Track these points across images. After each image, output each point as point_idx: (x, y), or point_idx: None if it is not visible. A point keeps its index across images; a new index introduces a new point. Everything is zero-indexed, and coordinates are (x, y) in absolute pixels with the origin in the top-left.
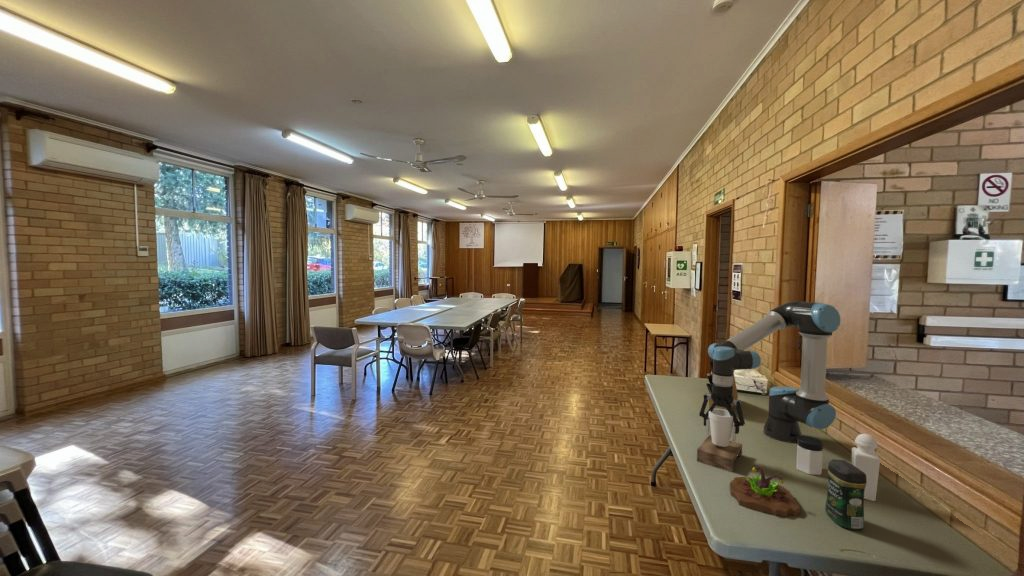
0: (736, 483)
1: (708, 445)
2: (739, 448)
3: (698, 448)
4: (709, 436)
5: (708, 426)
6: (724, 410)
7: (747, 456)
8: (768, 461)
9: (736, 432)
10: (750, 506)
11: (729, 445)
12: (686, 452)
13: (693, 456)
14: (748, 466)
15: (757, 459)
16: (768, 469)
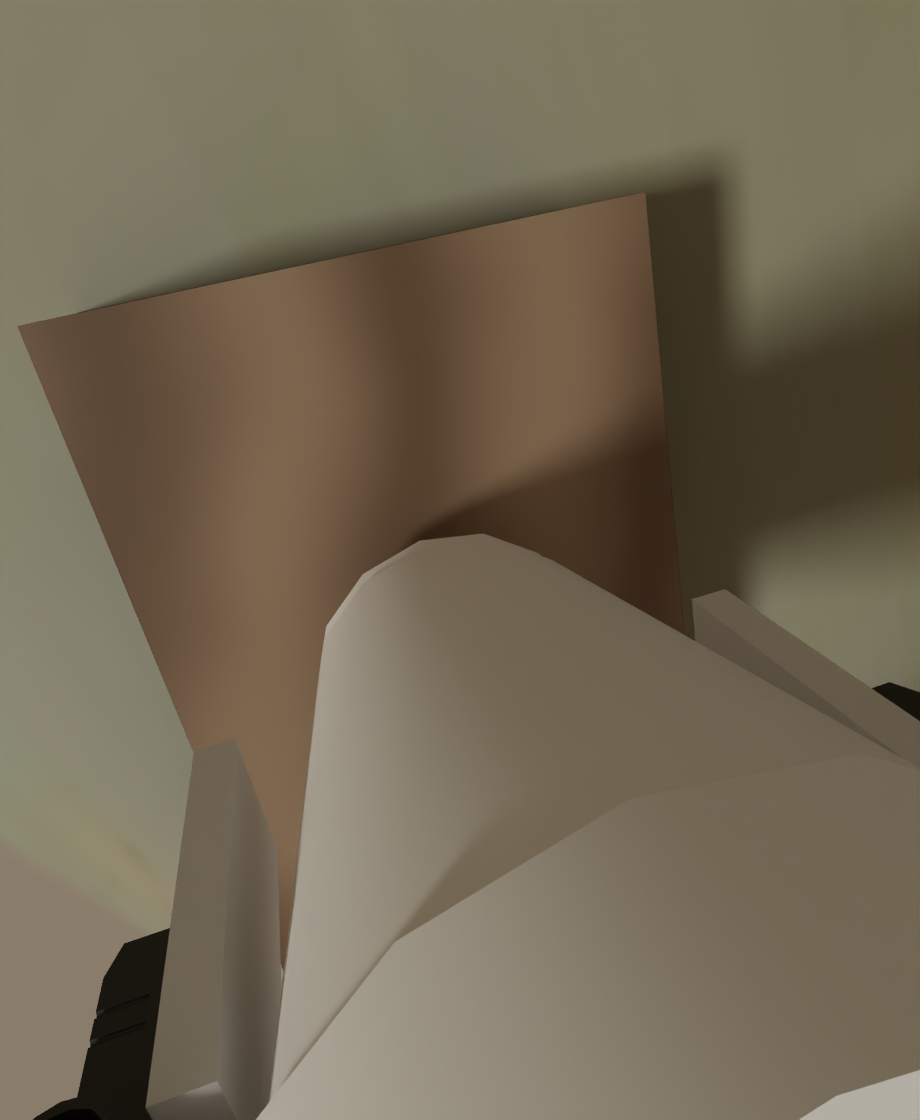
0: None
1: (308, 756)
2: (667, 444)
3: (280, 948)
4: (74, 396)
5: (267, 969)
6: (898, 1117)
7: (625, 178)
8: (858, 96)
9: None
10: None
11: (520, 470)
12: (50, 787)
13: (181, 798)
14: (709, 475)
15: (744, 161)
16: (882, 352)
